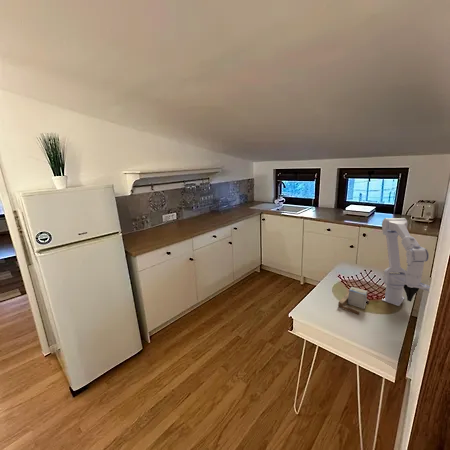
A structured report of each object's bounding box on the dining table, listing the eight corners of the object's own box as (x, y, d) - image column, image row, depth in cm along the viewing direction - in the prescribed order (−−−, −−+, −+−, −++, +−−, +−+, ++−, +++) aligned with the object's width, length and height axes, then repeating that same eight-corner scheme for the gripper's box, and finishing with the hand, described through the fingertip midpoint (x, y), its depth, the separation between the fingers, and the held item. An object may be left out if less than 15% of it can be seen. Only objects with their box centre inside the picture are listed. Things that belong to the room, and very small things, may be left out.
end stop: (349, 295, 141) (350, 290, 140) (369, 302, 134) (369, 297, 133) (338, 306, 133) (338, 301, 132) (358, 315, 125) (358, 310, 124)
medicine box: (366, 305, 132) (367, 290, 130) (363, 309, 129) (365, 294, 127) (350, 300, 137) (351, 286, 135) (347, 304, 134) (348, 289, 132)
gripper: (392, 271, 116) (388, 297, 120) (432, 282, 106) (427, 310, 110) (397, 266, 120) (393, 291, 124) (436, 276, 110) (430, 303, 114)
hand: (409, 300), depth 117 cm, fingers closed
